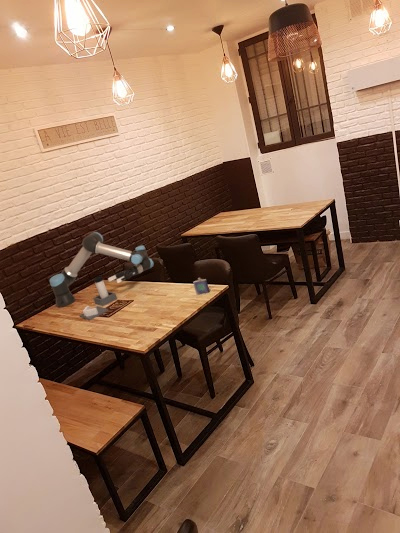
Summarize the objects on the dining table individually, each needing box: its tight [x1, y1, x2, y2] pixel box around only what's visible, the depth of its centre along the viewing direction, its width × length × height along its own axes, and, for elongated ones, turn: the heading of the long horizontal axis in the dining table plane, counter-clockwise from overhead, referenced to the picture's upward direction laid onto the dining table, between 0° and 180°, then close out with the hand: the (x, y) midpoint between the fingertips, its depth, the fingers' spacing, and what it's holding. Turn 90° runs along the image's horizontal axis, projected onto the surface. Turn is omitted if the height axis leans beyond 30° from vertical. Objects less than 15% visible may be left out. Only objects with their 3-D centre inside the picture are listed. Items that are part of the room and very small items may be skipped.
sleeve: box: [93, 290, 118, 307], centre depth 302 cm, size 12×12×5 cm
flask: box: [192, 277, 210, 295], centre depth 264 cm, size 9×3×11 cm, turn 76°
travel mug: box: [93, 275, 109, 299], centre depth 300 cm, size 6×7×20 cm
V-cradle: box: [79, 305, 109, 322], centre depth 283 cm, size 16×15×5 cm
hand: (112, 280), depth 305 cm, fingers open, 13 cm apart
